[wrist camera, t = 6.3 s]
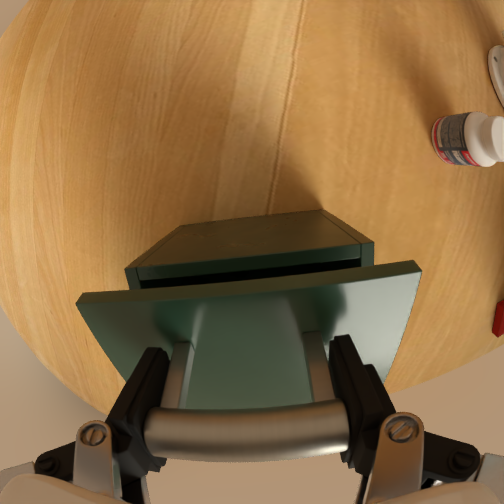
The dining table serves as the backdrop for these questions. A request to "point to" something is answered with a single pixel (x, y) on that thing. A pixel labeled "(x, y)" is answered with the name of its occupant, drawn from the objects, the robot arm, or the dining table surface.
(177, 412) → the lid
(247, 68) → the dining table surface
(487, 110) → the dining table surface
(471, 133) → the pill bottle
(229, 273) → the box
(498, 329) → the toy robot
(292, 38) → the dining table surface
